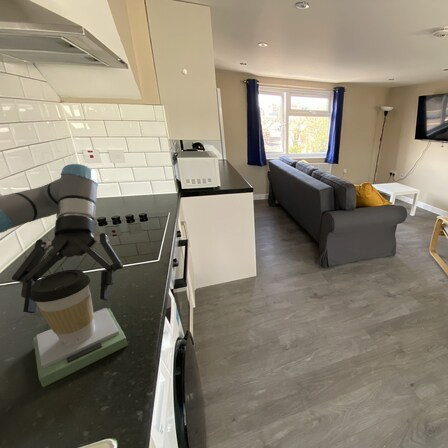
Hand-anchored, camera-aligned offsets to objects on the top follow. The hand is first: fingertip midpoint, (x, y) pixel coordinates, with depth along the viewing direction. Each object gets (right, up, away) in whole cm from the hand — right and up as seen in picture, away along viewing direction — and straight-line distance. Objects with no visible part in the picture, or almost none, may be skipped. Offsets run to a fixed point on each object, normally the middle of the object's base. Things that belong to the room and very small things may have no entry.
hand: (68, 305), depth 58 cm
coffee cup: (0, -8, +3) cm, 8 cm away
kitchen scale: (0, -11, +4) cm, 11 cm away
